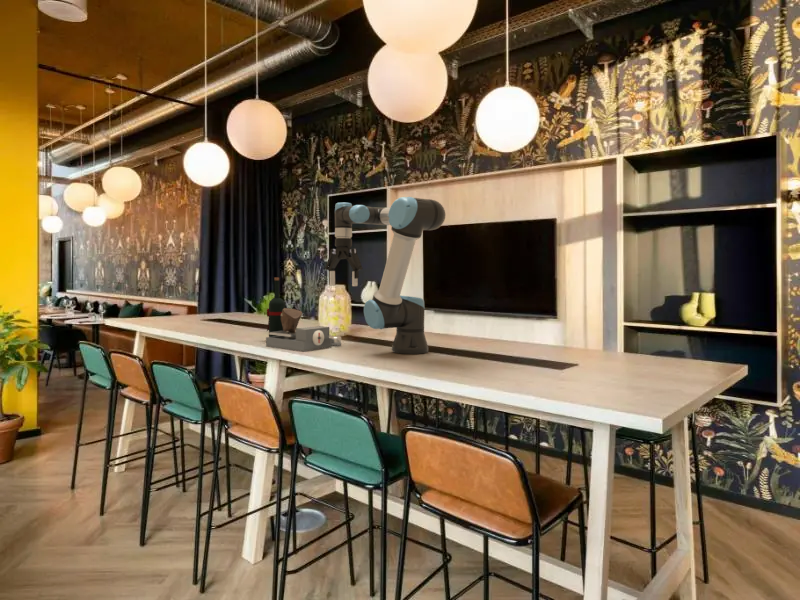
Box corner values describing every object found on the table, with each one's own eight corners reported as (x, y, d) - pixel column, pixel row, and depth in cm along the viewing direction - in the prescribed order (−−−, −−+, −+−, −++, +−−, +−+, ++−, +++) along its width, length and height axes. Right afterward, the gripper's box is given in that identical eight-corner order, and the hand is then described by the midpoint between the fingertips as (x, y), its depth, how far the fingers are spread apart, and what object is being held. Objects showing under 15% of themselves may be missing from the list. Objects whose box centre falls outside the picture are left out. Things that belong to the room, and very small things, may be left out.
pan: (314, 336, 241) (314, 331, 241) (291, 339, 230) (290, 334, 230) (293, 333, 250) (293, 329, 249) (269, 336, 238) (269, 332, 238)
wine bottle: (274, 339, 260) (273, 277, 258) (289, 341, 255) (289, 277, 253) (261, 341, 254) (261, 277, 252) (277, 343, 248) (276, 277, 246)
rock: (303, 322, 233) (283, 309, 231) (290, 340, 235) (270, 328, 233) (306, 313, 245) (287, 301, 243) (294, 330, 247) (275, 318, 245)
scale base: (332, 347, 236) (332, 327, 236) (305, 351, 223) (305, 330, 223) (293, 342, 251) (293, 323, 251) (266, 346, 238) (265, 326, 238)
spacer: (343, 345, 243) (343, 336, 242) (335, 346, 239) (335, 337, 238) (335, 344, 246) (335, 335, 245) (327, 345, 242) (327, 337, 241)
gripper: (370, 237, 236) (370, 286, 237) (329, 239, 251) (329, 284, 252) (359, 236, 230) (359, 286, 231) (317, 238, 245) (317, 285, 246)
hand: (343, 285), depth 242 cm, fingers open, 13 cm apart
